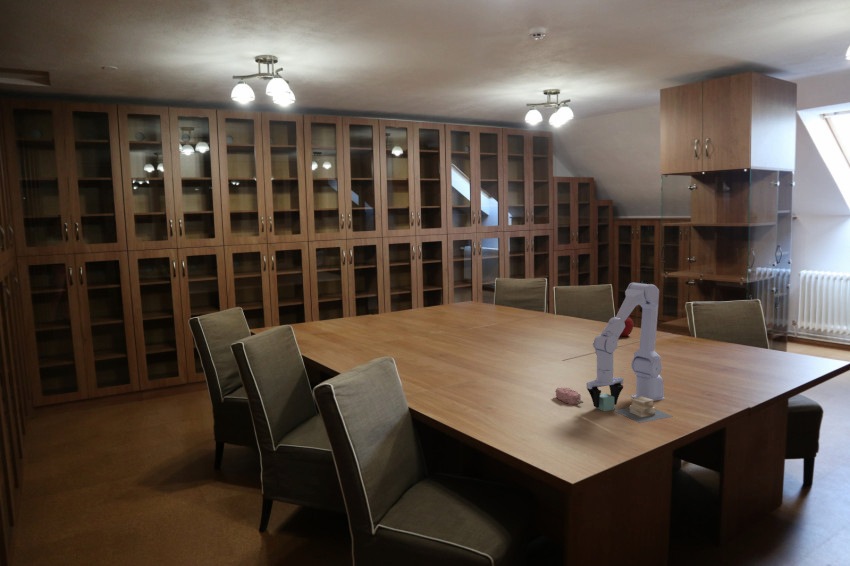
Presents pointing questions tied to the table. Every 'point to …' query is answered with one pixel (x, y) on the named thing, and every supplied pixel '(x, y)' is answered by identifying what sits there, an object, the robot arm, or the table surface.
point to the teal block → (606, 402)
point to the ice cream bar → (568, 396)
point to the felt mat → (642, 419)
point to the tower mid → (642, 402)
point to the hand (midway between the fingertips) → (605, 405)
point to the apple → (627, 327)
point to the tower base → (642, 411)
